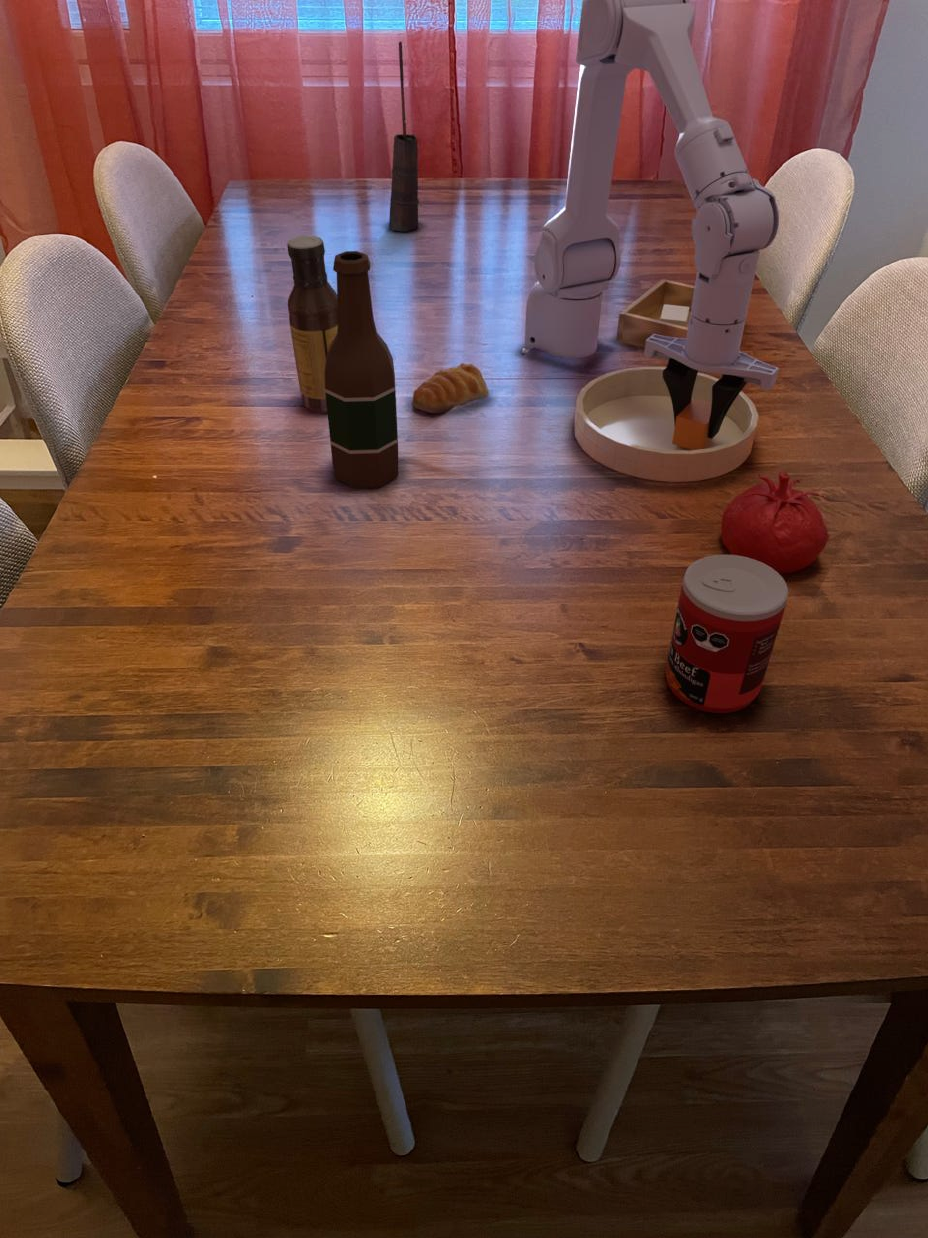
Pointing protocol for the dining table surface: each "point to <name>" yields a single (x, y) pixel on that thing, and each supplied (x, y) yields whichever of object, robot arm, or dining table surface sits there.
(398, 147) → the butter churn
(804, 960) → the dining table surface
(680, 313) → the beige wooden cube
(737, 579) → the canned food
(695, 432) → the orange wooden cube
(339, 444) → the beer bottle
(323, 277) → the sauce bottle
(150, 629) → the dining table surface
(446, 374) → the pastry
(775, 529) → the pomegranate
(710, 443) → the bowl
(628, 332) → the holder
